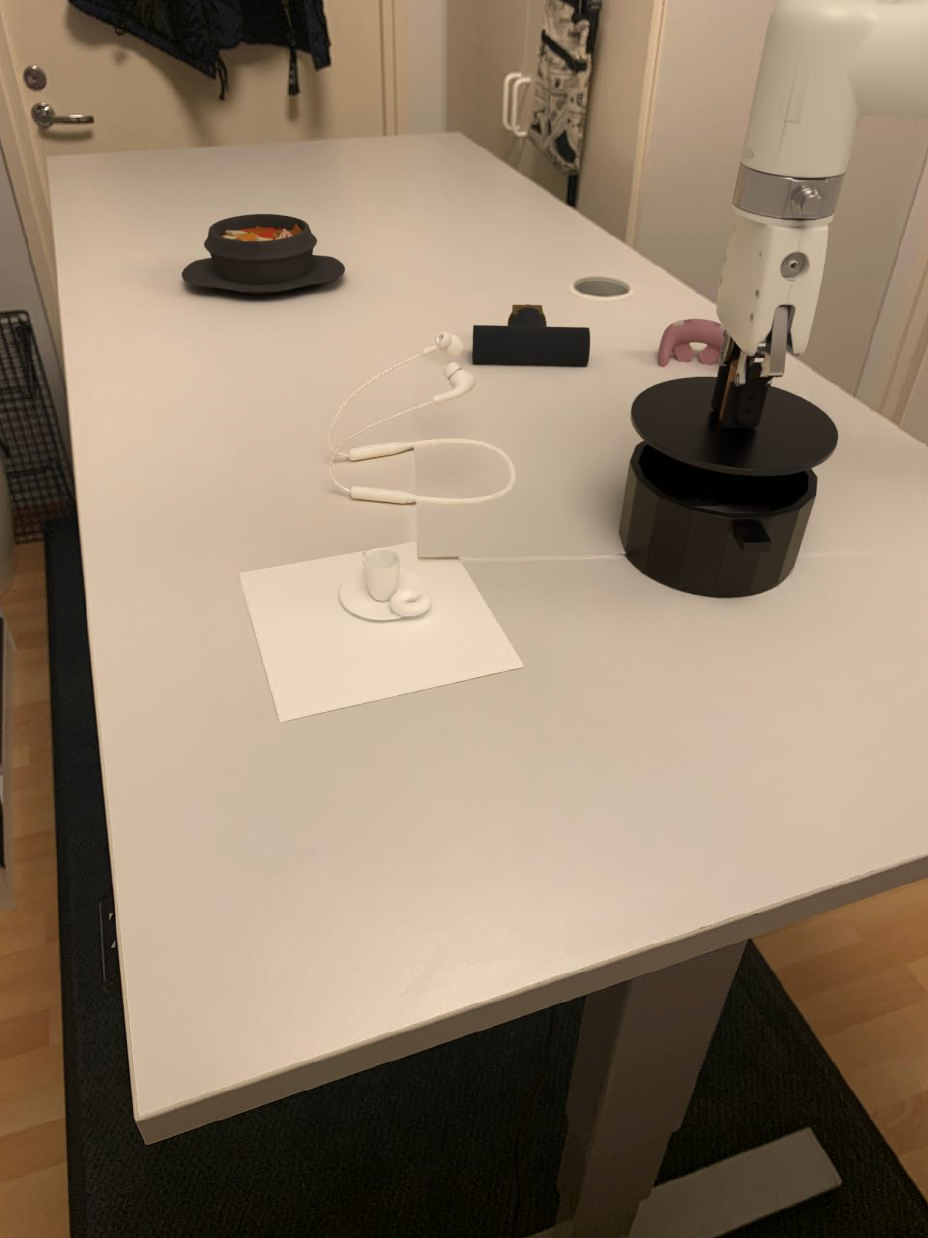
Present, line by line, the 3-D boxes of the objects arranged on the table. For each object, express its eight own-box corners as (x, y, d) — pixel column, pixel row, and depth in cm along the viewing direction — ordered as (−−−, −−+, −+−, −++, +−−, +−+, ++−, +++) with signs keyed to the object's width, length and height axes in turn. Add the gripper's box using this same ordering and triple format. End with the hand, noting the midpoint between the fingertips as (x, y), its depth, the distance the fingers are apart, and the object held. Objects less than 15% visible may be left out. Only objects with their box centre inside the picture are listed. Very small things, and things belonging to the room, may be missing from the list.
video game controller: (729, 378, 122) (739, 324, 121) (732, 376, 118) (743, 320, 116) (655, 370, 124) (664, 316, 122) (655, 367, 119) (665, 312, 118)
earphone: (312, 417, 99) (438, 308, 93) (412, 511, 108) (532, 417, 102) (312, 480, 88) (454, 362, 83) (422, 579, 98) (557, 479, 92)
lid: (793, 387, 88) (810, 324, 84) (868, 481, 74) (892, 412, 70) (612, 388, 87) (620, 324, 83) (653, 483, 73) (666, 413, 69)
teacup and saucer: (444, 619, 78) (444, 581, 76) (354, 637, 76) (351, 599, 74) (414, 563, 85) (413, 526, 82) (330, 578, 83) (327, 541, 80)
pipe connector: (472, 298, 124) (582, 301, 124) (471, 336, 127) (578, 338, 128) (473, 333, 115) (591, 335, 116) (472, 372, 119) (586, 374, 119)
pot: (753, 486, 97) (772, 413, 92) (830, 614, 80) (859, 534, 75) (600, 488, 96) (610, 414, 91) (645, 618, 79) (661, 537, 74)
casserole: (343, 261, 151) (339, 207, 146) (349, 301, 137) (345, 243, 132) (188, 265, 148) (179, 211, 143) (178, 307, 134) (167, 248, 128)
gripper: (879, 225, 62) (807, 463, 74) (797, 167, 75) (747, 378, 86) (772, 224, 62) (717, 463, 73) (708, 166, 74) (669, 378, 86)
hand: (734, 416), depth 80 cm, fingers closed on lid, 2 cm apart
